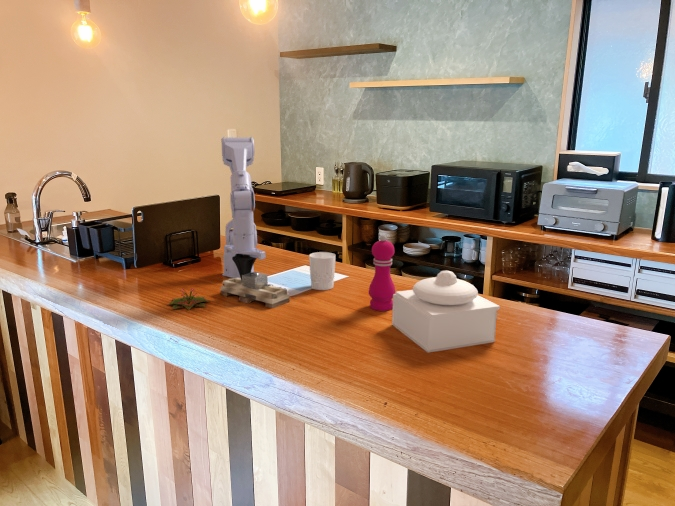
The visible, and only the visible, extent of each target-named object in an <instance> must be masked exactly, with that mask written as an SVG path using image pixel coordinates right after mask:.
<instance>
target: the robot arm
mask: <svg viewBox="0 0 675 506" xmlns="http://www.w3.org/2000/svg"><path fill="white" fill-rule="evenodd" d="M220 141H221V157H222V162H223V165H225V166H227V167H229V169H230V172H231V175H230V190H231V191H230V194H229V198H230V210H231V216H232V217H231V218H232V219H231V220H229V221H228V222H227V223H226V225H225V230H224V231H225V245H223V257H222V258H223V259H222V260H223V273H222V274H221V275H222V276H223V277H228V278H230V279H232V278H235V277H237V278H241V280H242V275H245V274H248V273H251V272H255V270H254V265H255V263H256V260H257V259H258V260H260V261H261V260H265V259H266V258H267V257H266V251H263V250H261V249H258V248H256V247H257V246H258V235H257V234H258V232H257V225H256V224H255V222H254V211H255V208H256V203H255V202H256V201H255V200H256V197H255V192H254V188H253V187H252V186H253V185H252V177H251V174H250V173H249V172H248V171H247V168H248V167H249V166H251V165H253V162H254V159H255V158H254V157H255V140H254V138H253V137H252V136H250V137H247V136H246V137H244V136H243V137H240V136H239V137H238V136H237V137H233V136H231V137H229V136H228V137H225V136H222V138H221V140H220Z"/></svg>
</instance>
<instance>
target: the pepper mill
mask: <svg viewBox="0 0 675 506" xmlns="http://www.w3.org/2000/svg"><path fill="white" fill-rule="evenodd" d="M379 239H380V240H378V241H376V242H375V243H373V245H372V247H371V254H372V256H373V257H374V258H373V265H374V268H375V269H374V275H373V278H372V280H371V282H370V284H369V288H368V296H369V297H370V298H371V299H370V300H369V307H370V309H372V310H374V311H379V312H386V311H390V310H393V294H396V286H395V284H394V282H393V279H392V276H391V266H392V265H393V256H394V255H395V246H394V244H393V243H392V242H390V241H389V240H387V239H388V238H387V235H386V234H382V235H380V238H379Z"/></svg>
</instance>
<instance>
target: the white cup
mask: <svg viewBox="0 0 675 506" xmlns="http://www.w3.org/2000/svg"><path fill="white" fill-rule="evenodd" d="M308 257H309V259H308V261H309V273H310V274H309V276H310V287H311V289H313V290H317V291H327V290H331V289H333V288H334V287H335V286H334V282H335V273H336V272H335V269H336V254H335V253H332V252H328V251H319V252H318V251H317V252H312V253H310V254H309V255H308Z"/></svg>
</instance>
